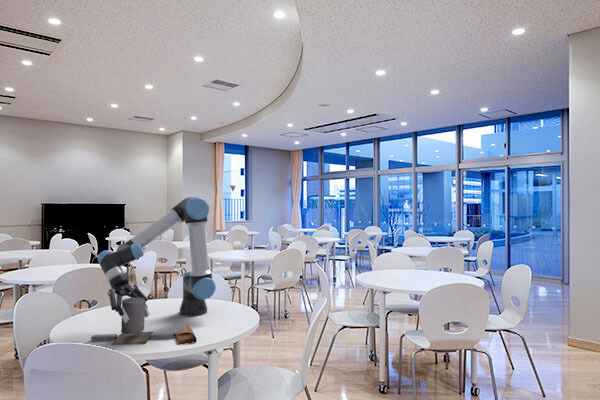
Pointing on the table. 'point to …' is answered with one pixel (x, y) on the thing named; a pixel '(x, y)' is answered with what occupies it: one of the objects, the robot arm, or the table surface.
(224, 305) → the table surface
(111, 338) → the chain ends
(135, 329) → the pillar candle
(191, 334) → the sunglasses case
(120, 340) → the brown wooden square board
